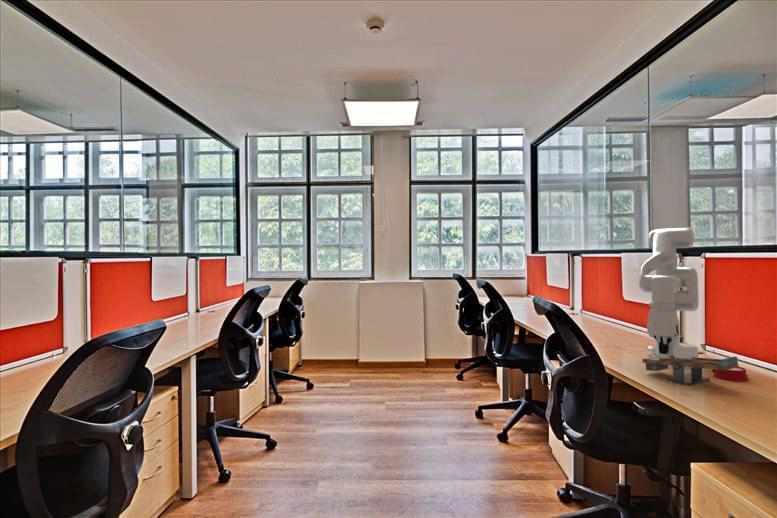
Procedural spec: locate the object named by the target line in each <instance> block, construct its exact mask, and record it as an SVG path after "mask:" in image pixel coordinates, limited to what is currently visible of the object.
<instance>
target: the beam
mask: <svg viewBox="0 0 777 518" xmlns="http://www.w3.org/2000/svg"><path fill="white" fill-rule="evenodd" d="M642 363H645V369H646V371H652V372H659V371H663V370H668V369H669V366H672V367H673V365H674V364H677V365H682V366H684V368H691V367H693V368H702V370H703V369H706V370H711V369H713V370H728V369H732V368H736V367H738V366H739V360H738V357H737V356H730V357H726V358H722V359H721V358H708V357H699V361H696V360H684V359H674V356H672V355H670V356H669V357H664V356H654V357H652V356H650V357H646V358H645V357H644V358H642Z"/></svg>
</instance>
